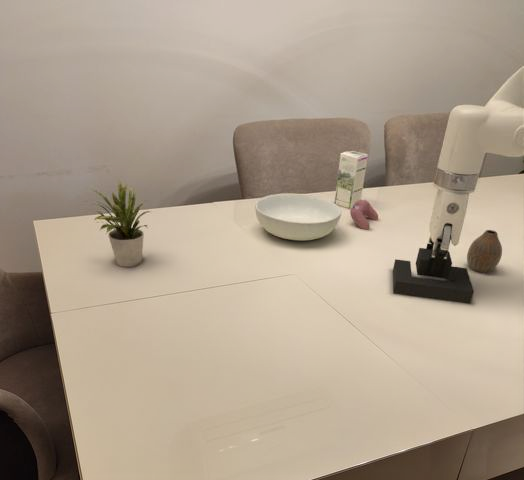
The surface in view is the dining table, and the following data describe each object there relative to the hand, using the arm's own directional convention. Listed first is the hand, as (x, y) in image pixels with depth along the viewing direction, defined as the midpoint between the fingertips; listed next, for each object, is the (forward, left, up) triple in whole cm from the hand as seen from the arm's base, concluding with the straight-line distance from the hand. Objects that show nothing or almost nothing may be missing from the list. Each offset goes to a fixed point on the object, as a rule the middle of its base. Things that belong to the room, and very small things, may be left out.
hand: (432, 268), depth 102 cm
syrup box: (+20, -46, -4) cm, 51 cm away
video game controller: (+15, -32, -4) cm, 36 cm away
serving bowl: (+31, -19, -4) cm, 37 cm away
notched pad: (0, +2, -4) cm, 4 cm away
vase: (-12, -11, -4) cm, 17 cm away
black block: (0, 0, -1) cm, 1 cm away
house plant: (+64, +8, -4) cm, 64 cm away
